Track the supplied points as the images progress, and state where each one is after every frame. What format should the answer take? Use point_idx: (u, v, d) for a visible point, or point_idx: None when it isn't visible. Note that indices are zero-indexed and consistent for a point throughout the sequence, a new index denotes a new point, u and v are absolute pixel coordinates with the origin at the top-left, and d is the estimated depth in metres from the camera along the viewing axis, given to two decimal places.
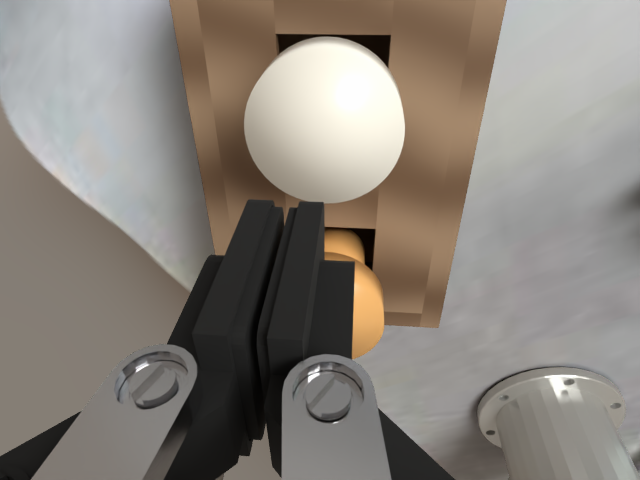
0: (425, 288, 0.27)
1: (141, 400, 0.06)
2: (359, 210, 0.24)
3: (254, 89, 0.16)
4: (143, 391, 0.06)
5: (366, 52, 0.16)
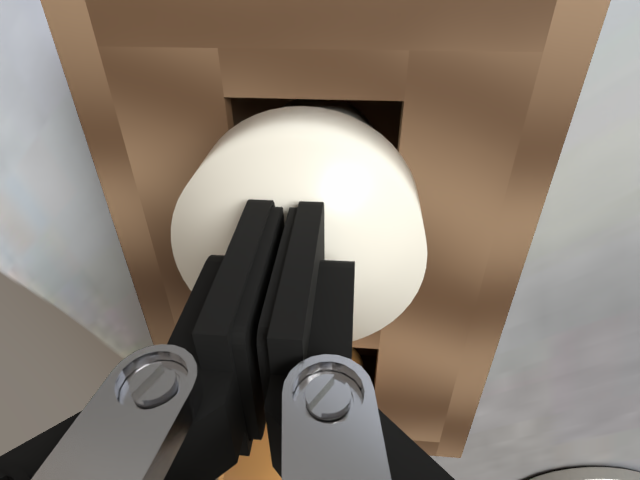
0: (445, 416, 0.20)
1: (141, 400, 0.06)
2: None
3: (182, 196, 0.10)
4: (143, 391, 0.06)
5: (365, 135, 0.10)
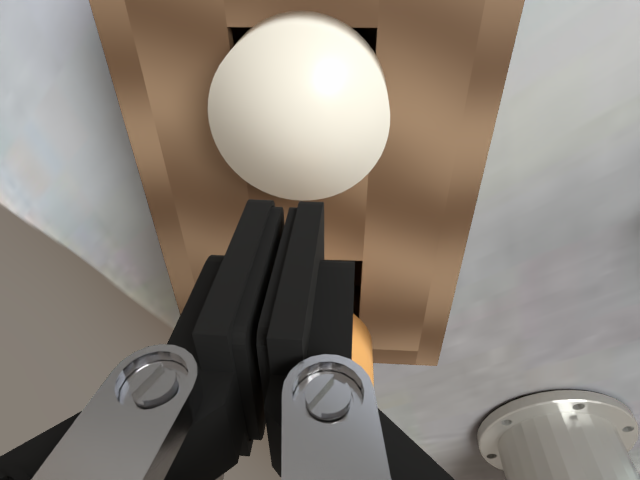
0: (422, 324, 0.23)
1: (142, 400, 0.06)
2: (342, 240, 0.20)
3: (217, 73, 0.14)
4: (144, 391, 0.06)
5: (345, 28, 0.14)
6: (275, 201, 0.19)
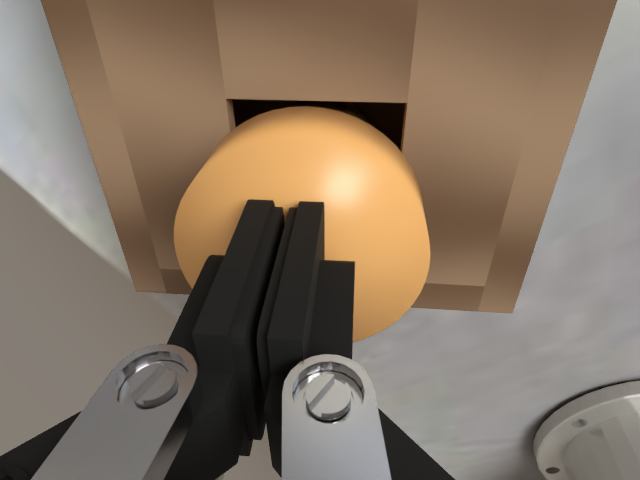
0: (497, 236, 0.14)
1: (141, 400, 0.06)
2: (374, 57, 0.11)
3: None
4: (143, 391, 0.06)
5: None
6: None
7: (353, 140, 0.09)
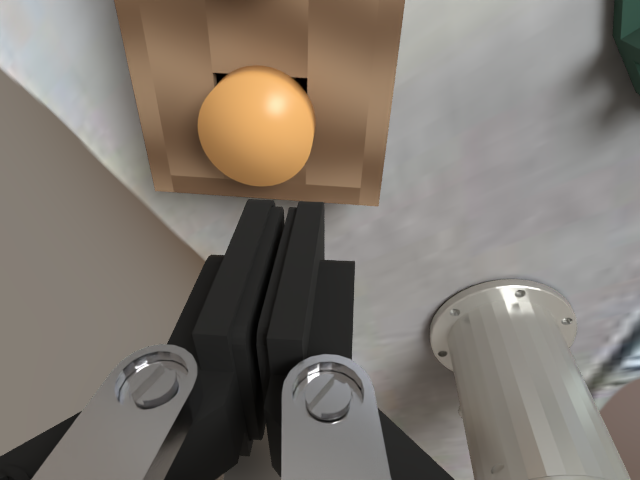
0: (362, 155, 0.26)
1: (141, 400, 0.06)
2: (288, 53, 0.23)
3: None
4: (143, 391, 0.06)
5: None
6: (228, 7, 0.22)
7: (277, 79, 0.22)
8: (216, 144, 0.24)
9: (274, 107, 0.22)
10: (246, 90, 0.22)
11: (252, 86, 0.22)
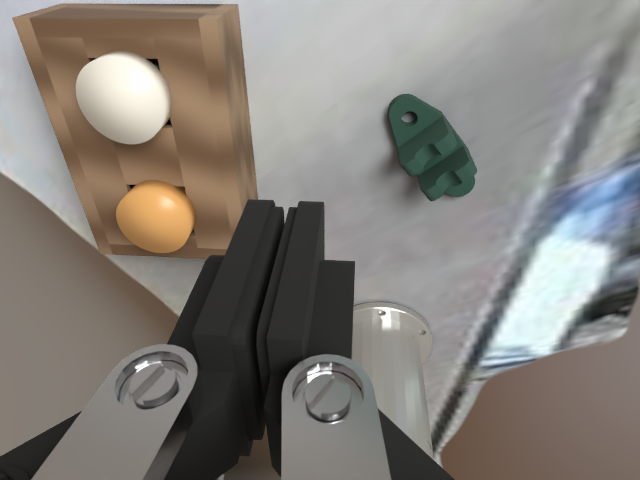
0: (230, 230, 0.39)
1: (141, 400, 0.06)
2: (170, 173, 0.36)
3: (77, 79, 0.30)
4: (143, 391, 0.06)
5: (138, 59, 0.30)
6: (129, 149, 0.35)
7: (161, 191, 0.36)
8: (129, 229, 0.37)
9: (161, 208, 0.36)
10: (142, 199, 0.35)
11: (145, 197, 0.35)
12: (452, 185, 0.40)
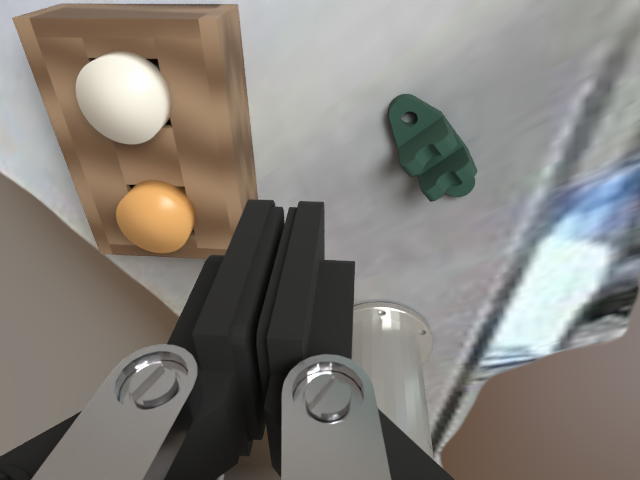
0: (230, 230, 0.39)
1: (141, 400, 0.06)
2: (170, 173, 0.36)
3: (77, 79, 0.30)
4: (143, 391, 0.06)
5: (138, 59, 0.30)
6: (129, 149, 0.35)
7: (161, 191, 0.36)
8: (129, 229, 0.37)
9: (161, 208, 0.36)
10: (142, 199, 0.35)
11: (145, 197, 0.35)
12: (452, 185, 0.40)
